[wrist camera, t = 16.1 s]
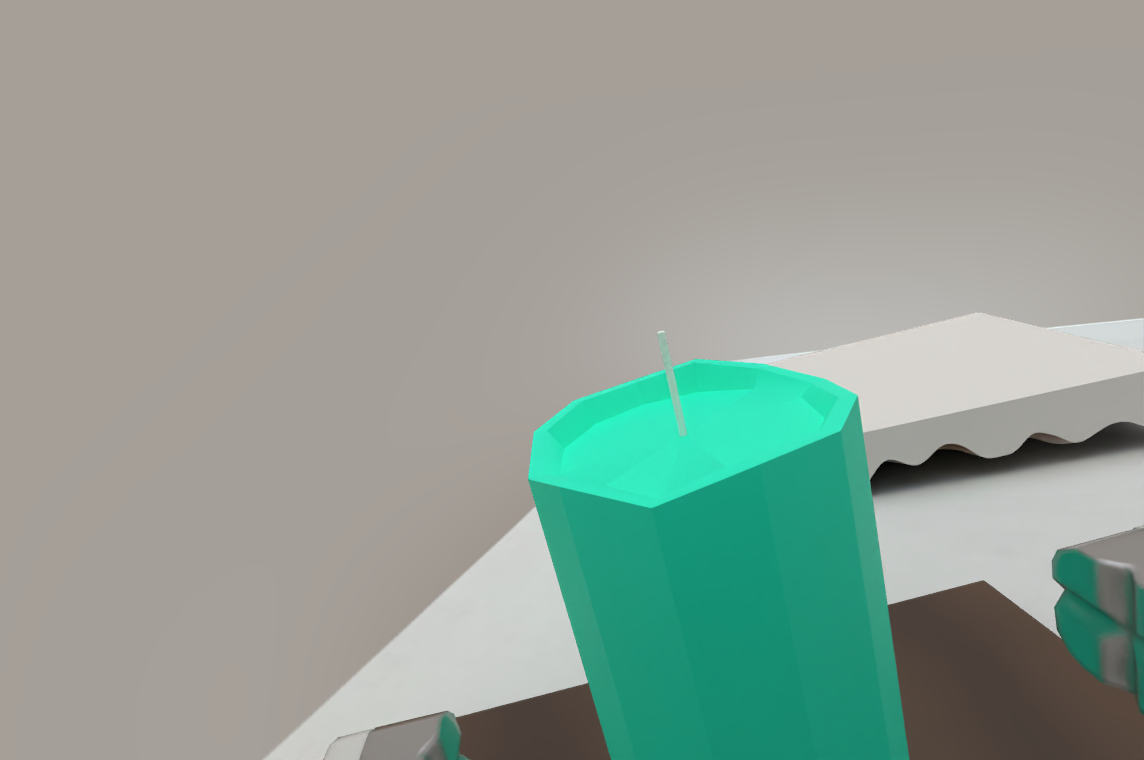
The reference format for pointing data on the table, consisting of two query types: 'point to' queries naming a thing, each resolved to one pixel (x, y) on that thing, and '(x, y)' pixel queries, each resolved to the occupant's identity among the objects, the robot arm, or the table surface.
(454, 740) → the robot arm
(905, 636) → the walnut board
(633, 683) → the candle
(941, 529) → the table surface
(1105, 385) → the white wavy slab
